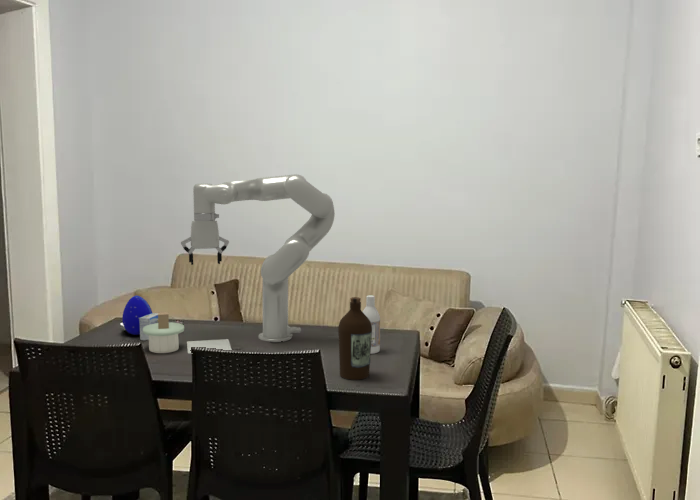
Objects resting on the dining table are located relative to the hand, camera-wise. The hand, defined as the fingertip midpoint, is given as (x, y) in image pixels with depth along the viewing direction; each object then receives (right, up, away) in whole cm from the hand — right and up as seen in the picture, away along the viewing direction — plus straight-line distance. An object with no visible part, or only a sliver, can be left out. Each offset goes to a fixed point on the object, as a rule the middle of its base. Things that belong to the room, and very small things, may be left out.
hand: (205, 263), depth 258 cm
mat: (+3, -30, -7) cm, 31 cm away
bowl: (-12, -30, -11) cm, 34 cm away
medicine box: (-21, -28, +4) cm, 35 cm away
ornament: (-28, -27, +9) cm, 40 cm away
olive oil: (+55, -35, -36) cm, 74 cm away
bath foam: (+60, -31, -10) cm, 68 cm away
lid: (-12, -23, -12) cm, 29 cm away
